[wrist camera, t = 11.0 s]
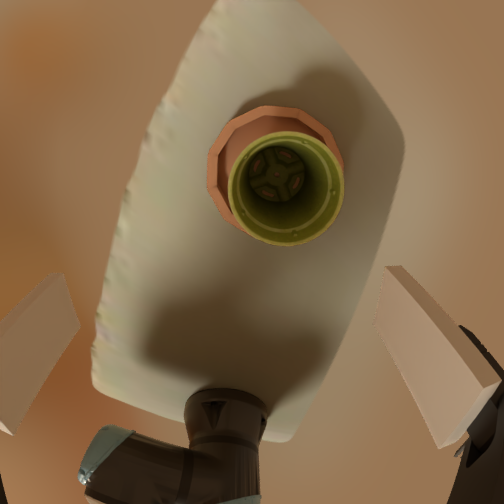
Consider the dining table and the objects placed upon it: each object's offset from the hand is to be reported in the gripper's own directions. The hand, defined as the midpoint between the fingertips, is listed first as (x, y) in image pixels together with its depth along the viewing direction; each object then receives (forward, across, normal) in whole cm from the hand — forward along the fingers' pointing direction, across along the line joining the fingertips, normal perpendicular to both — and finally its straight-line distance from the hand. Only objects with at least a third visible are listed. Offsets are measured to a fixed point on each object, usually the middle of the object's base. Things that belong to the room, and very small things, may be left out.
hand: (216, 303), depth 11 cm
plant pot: (+22, -4, -2) cm, 23 cm away
